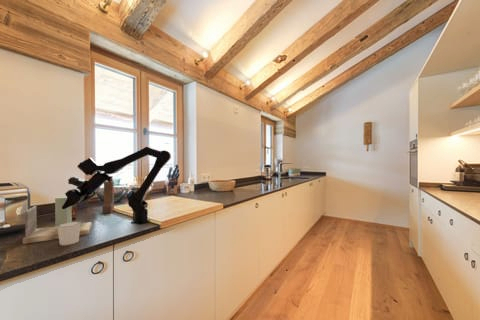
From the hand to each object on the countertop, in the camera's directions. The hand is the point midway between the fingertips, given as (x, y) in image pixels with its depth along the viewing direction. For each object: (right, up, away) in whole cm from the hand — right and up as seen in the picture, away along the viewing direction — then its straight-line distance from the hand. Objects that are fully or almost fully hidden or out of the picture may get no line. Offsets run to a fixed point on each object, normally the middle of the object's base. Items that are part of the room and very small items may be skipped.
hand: (68, 206), depth 97 cm
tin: (-13, -10, +16) cm, 22 cm away
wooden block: (+1, -10, +27) cm, 29 cm away
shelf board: (+4, -10, -9) cm, 14 cm away
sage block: (-2, -10, 0) cm, 10 cm away
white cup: (+15, -10, -17) cm, 25 cm away
